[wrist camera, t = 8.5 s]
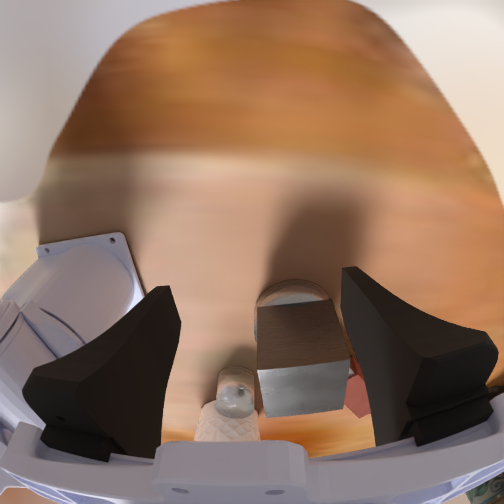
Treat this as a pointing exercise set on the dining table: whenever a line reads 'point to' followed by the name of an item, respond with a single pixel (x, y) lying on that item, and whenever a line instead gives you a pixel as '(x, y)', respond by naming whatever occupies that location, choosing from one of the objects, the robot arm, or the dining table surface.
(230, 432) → the white cup
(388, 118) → the dining table surface
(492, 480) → the beer stein
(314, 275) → the dining table surface
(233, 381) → the socket
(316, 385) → the brushed steel cube
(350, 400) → the ratchet
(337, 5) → the dining table surface
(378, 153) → the dining table surface
